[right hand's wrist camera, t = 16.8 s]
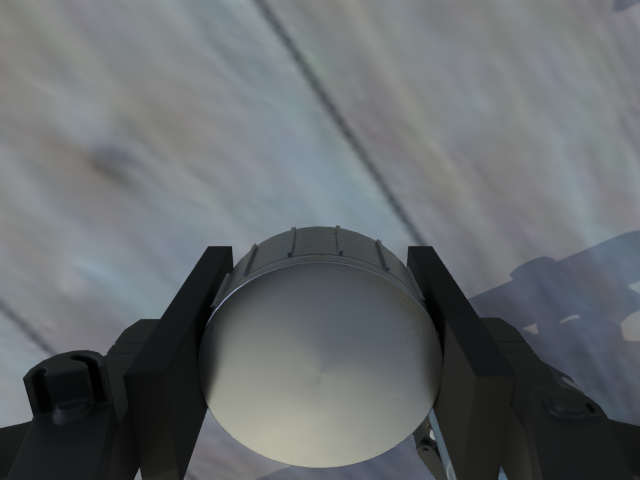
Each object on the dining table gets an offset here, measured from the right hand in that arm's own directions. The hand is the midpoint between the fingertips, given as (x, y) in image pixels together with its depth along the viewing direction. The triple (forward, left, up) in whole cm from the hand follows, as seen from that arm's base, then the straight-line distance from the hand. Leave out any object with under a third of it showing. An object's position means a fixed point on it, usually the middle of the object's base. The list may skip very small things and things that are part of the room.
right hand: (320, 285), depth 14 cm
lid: (0, 0, +4) cm, 4 cm away
